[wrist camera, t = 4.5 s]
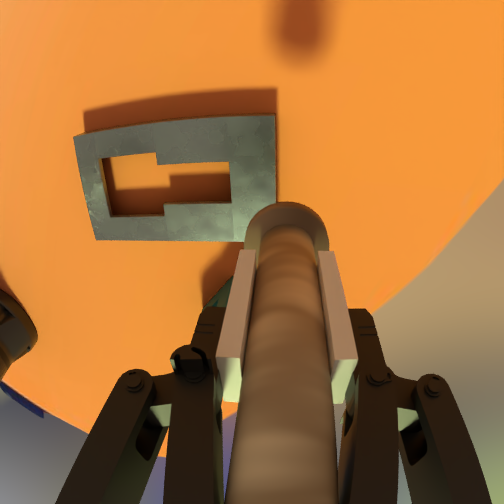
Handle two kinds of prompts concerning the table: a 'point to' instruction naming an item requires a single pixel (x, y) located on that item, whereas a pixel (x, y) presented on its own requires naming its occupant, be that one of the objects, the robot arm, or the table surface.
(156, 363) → the table surface
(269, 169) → the keyhole plate
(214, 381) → the robot arm
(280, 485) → the peg
